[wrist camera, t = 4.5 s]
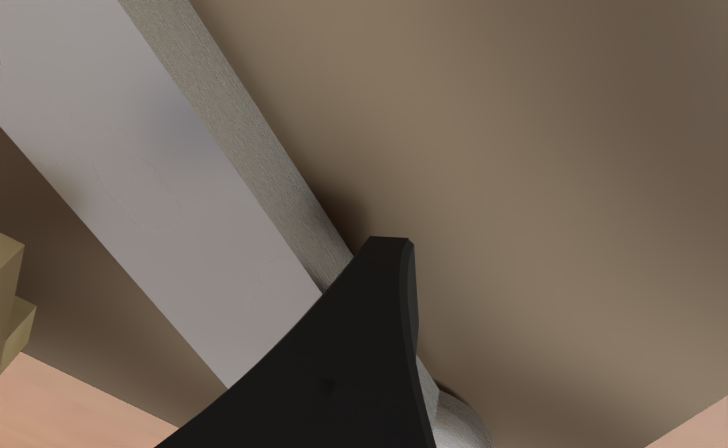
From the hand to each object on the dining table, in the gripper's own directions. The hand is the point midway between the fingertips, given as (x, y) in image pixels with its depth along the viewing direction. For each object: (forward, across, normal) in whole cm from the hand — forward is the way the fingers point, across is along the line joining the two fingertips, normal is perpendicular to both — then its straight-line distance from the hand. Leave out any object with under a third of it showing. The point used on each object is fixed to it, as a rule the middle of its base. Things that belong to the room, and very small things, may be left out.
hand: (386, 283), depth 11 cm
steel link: (+1, +2, +1) cm, 2 cm away
